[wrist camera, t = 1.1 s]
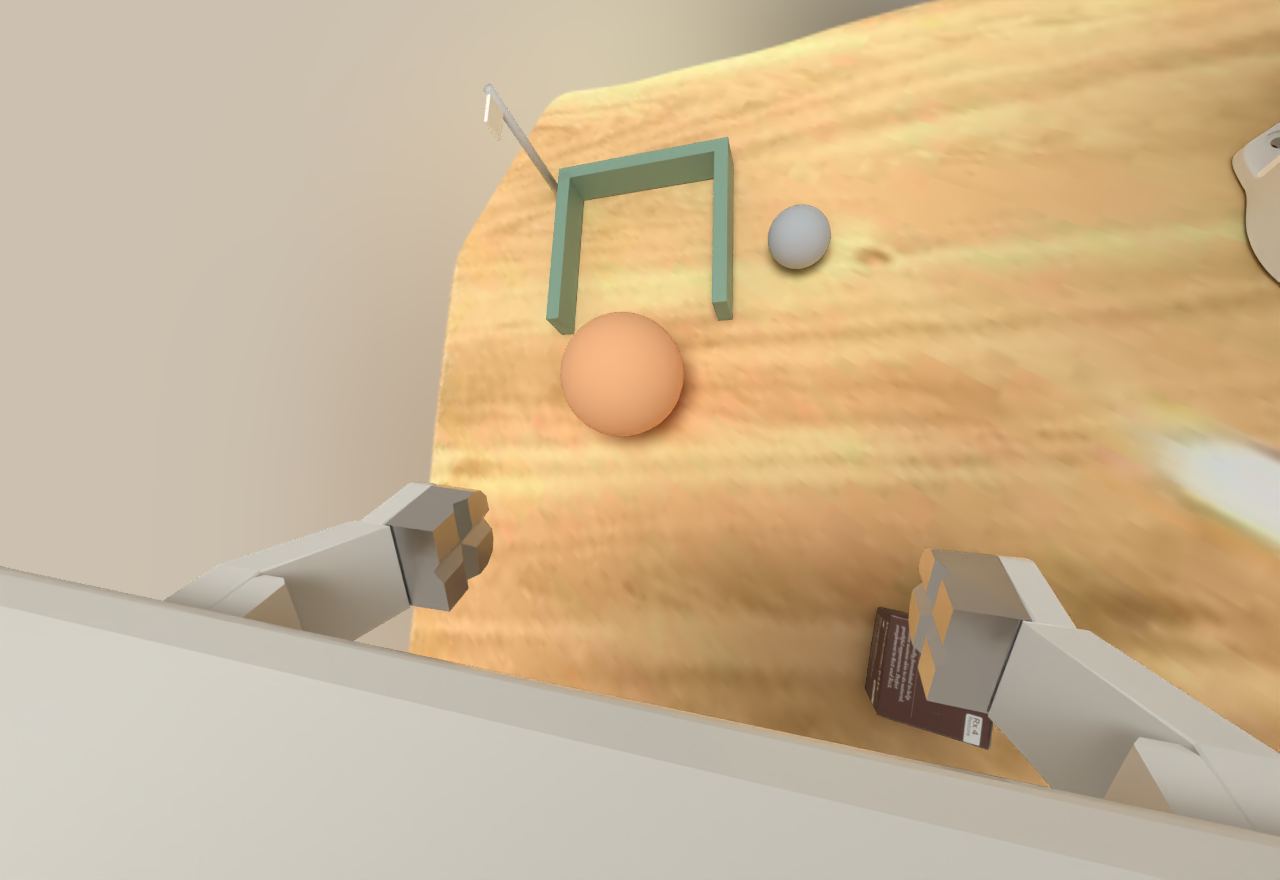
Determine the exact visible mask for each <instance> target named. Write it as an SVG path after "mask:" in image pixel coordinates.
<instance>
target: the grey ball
mask: <svg viewBox="0 0 1280 880" xmlns="http://www.w3.org/2000/svg"><path fill="white" fill-rule="evenodd" d="M830 238H831V230H830V225H829V222H828V220H827V218H826V216H825V215H824V214H823V213H822V212H821V211H820V210H819V209H817V208H815V207H813V206H810V205H795V206H792V207H789V208H787V209H785V210H784V211H782V212H781V213H780V214H779V215H778V216H777V217H776V218H775V220H774V221H773V223H772V225H771V227H770V230H769V234H768V246H769V250H770V252H771V254H772V256H773V258H774V259H775V260H776V261H777V262H778V263H779V264H781V265H783V266H785V267H788V268H792V269H801V268H805V267H808V266H811V265H812V264H814V263H816V262H817V261H818V260H819V259H820V258H821V257H822V256H823V255H824V253H825V252H826V250H827V248H828V246H829V243H830Z"/></svg>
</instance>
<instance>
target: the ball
mask: <svg viewBox="0 0 1280 880" xmlns="http://www.w3.org/2000/svg"><path fill="white" fill-rule="evenodd" d="M560 378H561V386H562V390H563V393H564V396H565V399H566V401H567V403H568V405H569V406H570V408H571V409H572V411H573V412H574V413H575V415H576V416H577V417H578V418H579V419H580V420H581V421H582V422H584V423H585V424H586V425H588V426H589V427H591V428H593V429H595V430H597V431H599V432H601V433H604V434H607V435H613V436H632V435H637V434H640V433H643V432H646V431H648V430H650V429H652V428H654V427H655V426H657V425H658V424H660V423H661V422H662V421H663V420H664V419H666V417H667V416H668V415H669V414H670V413H671V411H672V410H673V409H674V407H675V405H676V403H677V401H678V399H679V397H680V394H681V391H682V387H683V380H684V370H683V362H682V358H681V355H680V352H679V349H678V347H677V345H676V343H675V342H674V340H673V339H672V337H671V336H670V335H669V334H668V332H667V331H666V330H665V329H664V328H663V327H661V326H660V325H659V324H657V323H656V322H655V321H653V320H651V319H649V318H647V317H645V316H642V315H639V314H635V313H629V312H614V313H608V314H605V315H601V316H599V317H597V318H594V319H593V320H591V321H589V322H588V323H586V324H585V325H584V326H582V327H581V328H580V329H579V330H578V331H577V332H576V333H575V335H574V336H573V337H572V339H571V340H570V342H569V343H568V345H567V347H566V349H565V352H564V354H563V358H562V362H561V373H560Z"/></svg>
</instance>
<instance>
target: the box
mask: <svg viewBox="0 0 1280 880" xmlns="http://www.w3.org/2000/svg"><path fill="white" fill-rule="evenodd" d="M908 621H909V613H904V612H900V611H895V610H891V609H887V608H883V607H878V609H877V615H876V620H875V626H874V632H873V637H872V643H871V651H870V657H869V664H868V671H867V678H866V684H865V690H866V692H867V694H868V696H869V698H870V700H871V702H872V704H873V706H874V708H875V710H876V712H877V715H878V716H881V717H884V718H888V719H891V720H893V721H896V722H900V723H903V724H907V725H910V726H913V727H917V728H920V729H923V730H926V731H930V732H933V733H936V734H939V735H943V736H946V737H949V738H952V739H956V740H959V741H962V742H965V743H968V744H971V745H974V746H978V747H981V748H984V749H987V750H988V749H990V745H991V735H992V727H993V722H992V720H991V719H990V718H989V717H988V714H987V713H983V712H978V711H973V710H969V709H964V708H959V707H954V706H950V705H945V704H940V703H936V702H931V701H927V700H926V696H925V692H924V688H923V685H922V681H921V677H920V673H919V669H918V664H919V660H920V656H921V653H920V652H919V651H918V650H917V649H916V648H915V647H914V646H913V645H912V641H911V637H910V631H909V622H908Z"/></svg>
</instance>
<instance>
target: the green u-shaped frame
mask: <svg viewBox="0 0 1280 880" xmlns="http://www.w3.org/2000/svg"><path fill="white" fill-rule="evenodd" d="M484 92H485V93H486V95H487V102H486V110H485V118H484V123H485V124H486V126H487V127H488V129H489V130H490V131H491V133H492V134H493V135H494V137H495V138H496V139H497V141H499V140H501V132H502V123H503V120H504V121H505V122H506V124H507V125H508V127H509V128H510V130H511V131H512V132H513V134H514V136H515V137H516V138H517V140H518V141H519V143H520V144H521V146H522V147H523V149H524V150H525V152H526V153H527V154H528V156H529V157H530V159H531V160H532V162H533V163H534V165H535V166H536V168H537V169H538V170H539V172H540V173H541V175H542V176H543V178H544V179H545V181H546V182H547V183H548V185H549V186H550V188H551V189H552V191H553V192H554V194H555V195H556V197H557V200H556V212H555V223H554V235H553V246H552V257H551V269H550V280H549V292H548V303H547V315H546V320H548V321H549V322H550V323H551V324H552V325H553V326H554V327H555V328H556V329H557V330H558V331H559V332H560V333H561V334H562V335H564V334H574V326H575V312H576V299H577V285H578V272H579V259H580V245H581V232H582V219H583V205H584V200H590V199H596V198H602V197H608V196H613V195H619V194H625V193H631V192H637V191H643V190H649V189H655V188H661V187H667V186H673V185H679V184H685V183H691V182H697V181H703V180H708V179H714V201H713V265H712V304H713V307H714V309H715V312H716V315H717V317H718V320H730V319H732V294H733V160H732V155H731V150H730V145H729V140H728V137H725V138H720V139H714V140H709V141H704V142H699V143H693V144H688V145H683V146H677V147H672V148H667V149H662V150H656V151H651V152H646V153H641V154H635V155H630V156H625V157H620V158H614V159H609V160H604V161H598V162H593V163H588V164H583V165H577V166H572V167H567V168H562V169H559V177H558V184H557V182H556V181H555V179H554V178H553V176H552V175H551V173H550V172H549V170H548V169H547V167H546V166H545V164H544V163H543V161H542V160H541V158H540V157H539V155H538V154H537V152H536V151H535V149H534V148H533V146H532V145H531V143H530V142H529V140H528V139H527V137H526V136H525V134H524V133H523V131H522V130H521V128H520V127H519V125H518V124H517V122H516V121H515V119H514V118H513V116H512V115H511V113H510V111H508V108H507V107H506V106H505V104H504V102H503V101H502V99H501V98H500V97H499V95H498V93H497V92H496V90H495V89H494V87H493V86H492V85H491V84H488V85H486V86H485V87H484Z"/></svg>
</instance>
